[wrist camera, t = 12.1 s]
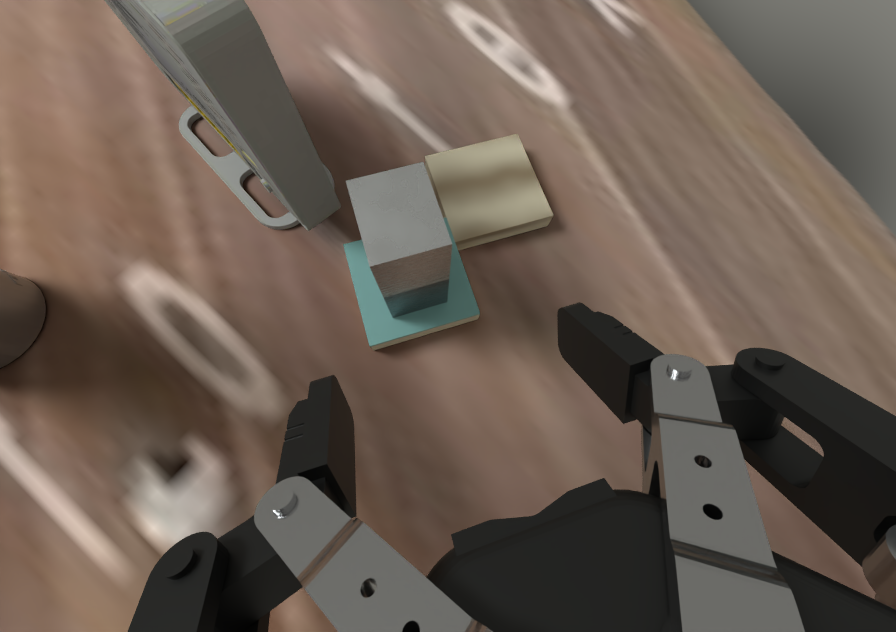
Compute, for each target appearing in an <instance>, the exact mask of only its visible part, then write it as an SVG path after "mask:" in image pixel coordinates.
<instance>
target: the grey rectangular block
mask: <svg viewBox="0 0 896 632" xmlns="http://www.w3.org/2000/svg"><path fill="white" fill-rule="evenodd" d="M346 184H347V188H348V191H349V195H350V199H351V202H352V206H353V209H354V213H355V216H356V220H357V224H358V227H359V231H360V234H361V238H362V241H363V245H364V249H365V252H366V256H367V259H368V263H369V267H370V269H371V271H372V273H373V275H374V278H375V280H376V282H377V284H378V287H379V289H380V291H381V293H382V295H383V298H384V300H385V302H386V304H387V307H388V309H389V311H390V313H391V315H392V318H395V317H398V316H402V315H405V314H408V313H412V312H415V311H419V310H422V309H425V308H429V307H432V306H436V305H439V304H442V303H446V302H447V299H448V288H449V276H450V265H451V254H452V242H451V239H450V236H449V233H448V230H447V227H446V225H445V222H444V219H443V216H442V213H441V210H440V208H439V205H438V202H437V199H436V196H435V193H434V191H433V188H432V185H431V182H430V179H429V176H428V174H427V171H426V168H425V165H424V162H420V163H416V164H412V165H408V166H404V167H400V168H396V169H392V170H388V171H384V172H379V173H375V174H371V175H367V176H363V177H359V178H355V179H351V180H347V181H346Z"/></svg>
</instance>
